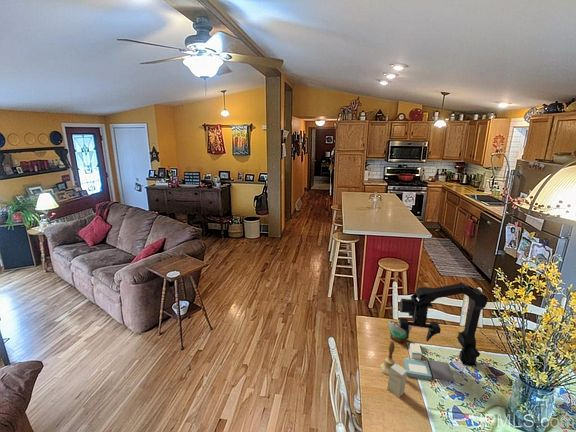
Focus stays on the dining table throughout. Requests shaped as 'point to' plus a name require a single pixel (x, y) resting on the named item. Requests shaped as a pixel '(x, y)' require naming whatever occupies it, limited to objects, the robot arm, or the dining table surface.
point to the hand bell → (388, 360)
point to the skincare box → (397, 379)
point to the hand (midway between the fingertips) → (417, 339)
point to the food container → (397, 332)
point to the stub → (415, 351)
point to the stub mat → (441, 370)
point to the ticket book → (417, 368)
